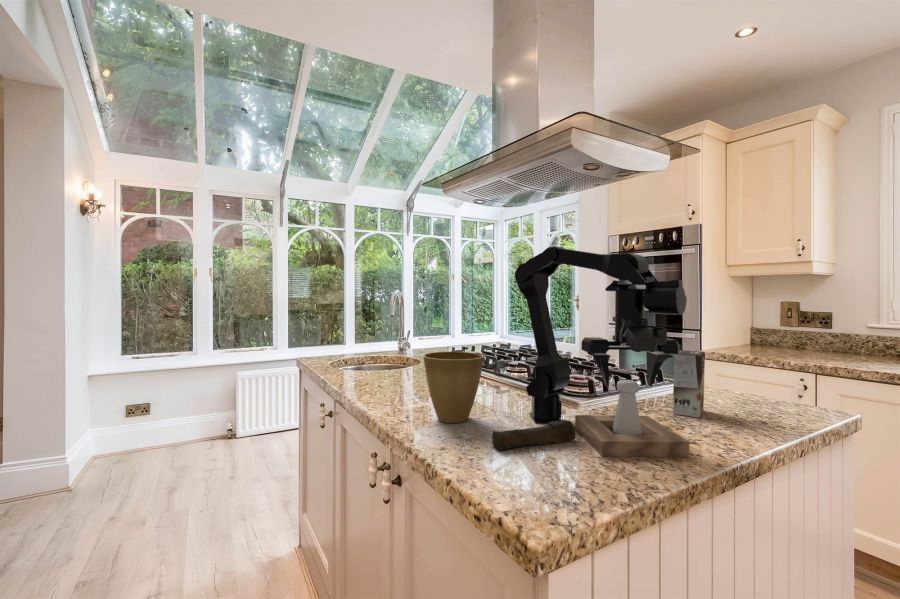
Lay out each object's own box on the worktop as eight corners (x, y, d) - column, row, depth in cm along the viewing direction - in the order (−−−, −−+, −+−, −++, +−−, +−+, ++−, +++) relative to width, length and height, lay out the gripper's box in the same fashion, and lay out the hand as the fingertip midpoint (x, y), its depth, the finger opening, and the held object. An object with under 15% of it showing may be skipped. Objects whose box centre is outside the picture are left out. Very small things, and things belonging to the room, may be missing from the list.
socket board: (602, 456, 82) (602, 441, 82) (575, 427, 99) (575, 415, 99) (689, 457, 82) (689, 441, 82) (647, 428, 99) (647, 415, 99)
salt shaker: (636, 437, 93) (637, 378, 93) (645, 446, 87) (646, 384, 87) (609, 435, 93) (610, 377, 93) (616, 445, 88) (617, 383, 88)
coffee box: (700, 418, 107) (701, 355, 107) (672, 414, 111) (673, 353, 110) (704, 410, 114) (705, 351, 114) (677, 406, 118) (678, 349, 118)
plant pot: (493, 424, 101) (494, 357, 100) (434, 431, 95) (435, 361, 95) (468, 408, 115) (468, 349, 114) (415, 413, 109) (415, 352, 109)
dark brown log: (498, 454, 83) (498, 431, 83) (490, 447, 87) (491, 424, 87) (582, 445, 88) (582, 423, 88) (571, 439, 92) (571, 418, 92)
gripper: (599, 314, 81) (598, 395, 82) (695, 315, 82) (694, 395, 82) (581, 311, 93) (580, 382, 93) (665, 312, 93) (664, 382, 93)
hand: (628, 385), depth 90 cm, fingers open, 9 cm apart
